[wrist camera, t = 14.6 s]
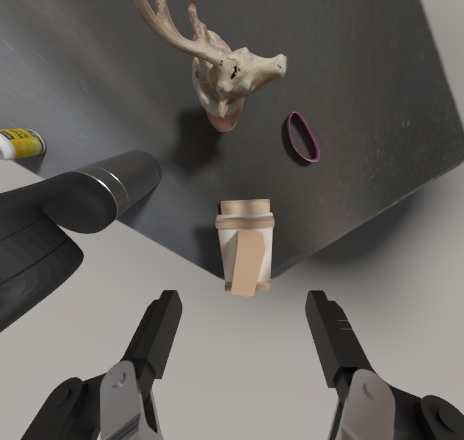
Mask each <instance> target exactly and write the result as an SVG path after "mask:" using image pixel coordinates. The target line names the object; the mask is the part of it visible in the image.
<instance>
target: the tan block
mask: <svg viewBox="0 0 464 440" xmlns="http://www.w3.org/2000/svg"><path fill="white" fill-rule="evenodd" d="M264 253H265V245H264V239H263V232H255V231H246V230H238V236H237V243H236V251H235V258H234V265H233V272H232V284H231V294H232V295H242V296H250V297H254V293H255V289H256V285H257V281H258V277H259V273H260V269H261V265H262V261H263V257H264Z"/></svg>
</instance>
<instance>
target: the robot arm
mask: <svg viewBox="0 0 464 440" xmlns="http://www.w3.org/2000/svg"><path fill="white" fill-rule="evenodd" d="M160 179H161V170H160V167H159V165H158V163H157V161H156V160H155V159H154V158H153V157H152V156H151V155H150V154H148V153H146V152H144V151H140V150H132V151H129V152H126V153H123V154H120V155H117V156H114V157H111V158H108V159H105V160H102V161H99V162H96V163H93V164H90V165H87V166H84V167H81V168H78V169H75V170H72V171H69V172H66V173H63V174H60V175H58V176H55V177H52V178H50V179H47V180H44V181H41V182H38V183H35V184H32V185H29V186H25V187H21V188H18V189H15V190H11V191H8V192H4V193H0V332H2V331H3V330H4V329H5V328H7V327H8V326H9V325H11V324H12V323H13V322H15V321H16V320H17V319H19V318H20V317H21V316H23V315H24V314H25V313H26V312H28V311H29V310H30V309H32V308H33V307H34V306H35V305H37V304H38V303H39V302H41V301H42V300H43V299H44V298H46V297H47V296H48V295H49V294H51V293H52V292H53V291H54V290H55V289H57V288H58V287H59V286H60V285H61V284H63V283H64V282H65V281H66V280H67V279H68V278H69V277H70V276H71V275H72V274H73V273H74V272H75V271H76V270H77V269H78V267H79V266H80V265H81V263H82V261H83V258H84V254H83V252H82V250H81V249H80V248H79V247H78V245H77V244H76V243H75V242H74V241H73V240H72V239H71V238H70V237H69V236H68V235H67V234H66V233H65V232H64V231H63V230H61V228H60V227H59V226H62V227H64V228H66V229H68V230H71V231H74V232H77V233H84V234H90V233H96V232H99V231H101V230H103V229H105V228H106V227H107V226H109V225H110V224H111V223H112V222H113V221H114V220H116V219H117V218H118V217H119V216H121V215H122V214H123V213H124V212H125V211H126V210H128V209H129V208H130V207H131V206H132V205H134V204H135V203H136V202H137V201H139V200H140V199H141V198H142V197H143V196H145V195H146V194H147V193H148V192H149V191H151V190H152V189H153V188H154V187H156V186H157V185H158V183H159V182H160ZM58 225H59V226H58ZM305 311H306V317H307V320H308V323H309V326H310V330H311V333H312V336H313V340H314V343H315V346H316V349H317V353H318V356H319V359H320V362H321V366H322V369H323V372H324V376H325V379H326V382H327V385H328V388H336V391H337V394H338V397H339V398H338V402H337V405H336V410H335V413H334V417H333V421H332V425H331V429H330V432H329V436H328V440H464V415H463V414H462V413H461V412H460V411H459V410H458V409H457V408H455V407H454V406H453V405H451V404H450V403H449V402H447V401H445V400H444V399H442V398H440V397H437V396H433V395H427V396H425V397H423V398H420V397H417V396H414V395H412V394H409V393H407V392H404V391H402V390H399V389H397V388H395V387H392V386H391V385H389V384H388V383H386V382H385V381H384V380H383V379H381V378H380V377H379V376H378V375H377V374H376V372H375V371H374V370H373V368H372V367H371V365H370V363H369V361H368V359H367V357H366V355H365V353H364V351H363V349H362V347H361V345H360V343H359V341H358V339H357V337H356V335H355V333H354V331H353V330H352V327H351V325H350V323H349V322H348V319H347V317H346V315H345V313H344V312H343V309H342V308H341V307H340V306H339V305H338V304H337V303H336V302H335V301H328V299H327V297H326V295H325V293H324V292H323V291H309V292H308V296H307V301H306V305H305ZM181 315H182V303H181V300H180V298H179V295H178V292H177V291H176V290H164V291H163V292H162V294H161V296H160V298H159V300H154V301H153V302H152V303H151V304H150V305H149V306H148V308H147V310H146V312H145V314H144V316H143V318H142V320H141V322H140V324H139V326H138V328H137V330H136V332H135V334H134V336H133V338H132V340H131V342H130V344H129V346H128V348H127V350H126V352H125V354H124V356H123V358H122V359H121V360H120V362H119V363H117V364H116V365H114V366H113V367H112V368H111V369H110V370H109V371H108V372H107V373H105V374H102V375H99V376H97V377H94V378H91V379H88V380H85V381H82V380H81V379H79V378H77V377H74V378H70V379H68V380H66V381H64V382H62V383H61V384H60V385H59V386H58V387H56V388H55V389H54V390H53V392H52V393H51V394H50V395H49V397H48V398H47V400H46V401H45V403H44V404H43V406H42V408H41V409H40V410H39V412H38V414H37V415H36V417H35V419H34V420H33V421H32V423H31V424H30V426H29V428H28V429H27V431H26V432H25V434H24V435H23V437H22V438H21V440H97V438H98V435H99V433H100V430H101V440H164V439H163V437H162V434H161V431H160V426H159V421H158V417H157V412H156V407H155V402H154V397H153V392H152V384H153V381H154V379H162V376H163V372H164V369H165V366H166V363H167V359H168V356H169V353H170V350H171V347H172V344H173V340H174V337H175V334H176V331H177V328H178V324H179V321H180V318H181Z"/></svg>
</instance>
